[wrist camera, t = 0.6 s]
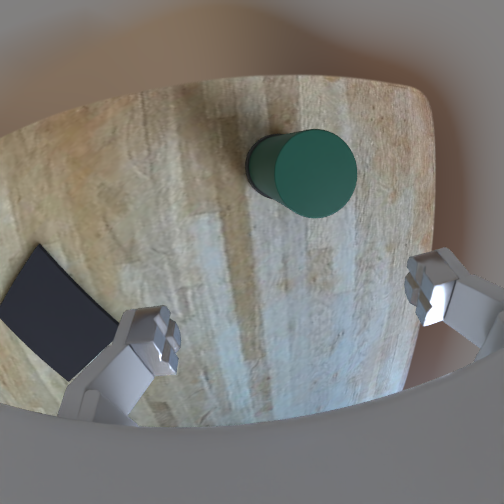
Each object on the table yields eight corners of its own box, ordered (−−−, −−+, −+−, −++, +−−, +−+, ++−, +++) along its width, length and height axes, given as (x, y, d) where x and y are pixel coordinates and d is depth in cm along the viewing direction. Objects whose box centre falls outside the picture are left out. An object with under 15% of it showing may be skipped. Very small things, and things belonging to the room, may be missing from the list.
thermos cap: (231, 161, 24) (249, 165, 15) (282, 121, 23) (325, 107, 15) (272, 211, 26) (309, 240, 17) (320, 172, 25) (375, 183, 17)
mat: (-3, 311, 23) (-5, 313, 23) (40, 243, 22) (37, 244, 22) (69, 379, 28) (68, 382, 27) (125, 328, 27) (124, 330, 26)
